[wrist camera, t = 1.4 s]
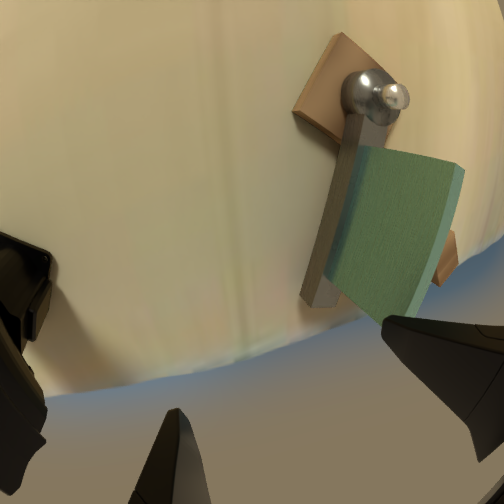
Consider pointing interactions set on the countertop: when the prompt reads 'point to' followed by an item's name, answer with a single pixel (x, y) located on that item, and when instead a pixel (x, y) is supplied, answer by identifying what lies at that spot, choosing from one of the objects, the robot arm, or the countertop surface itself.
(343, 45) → the pintle block
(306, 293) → the link
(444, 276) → the block
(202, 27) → the countertop surface
